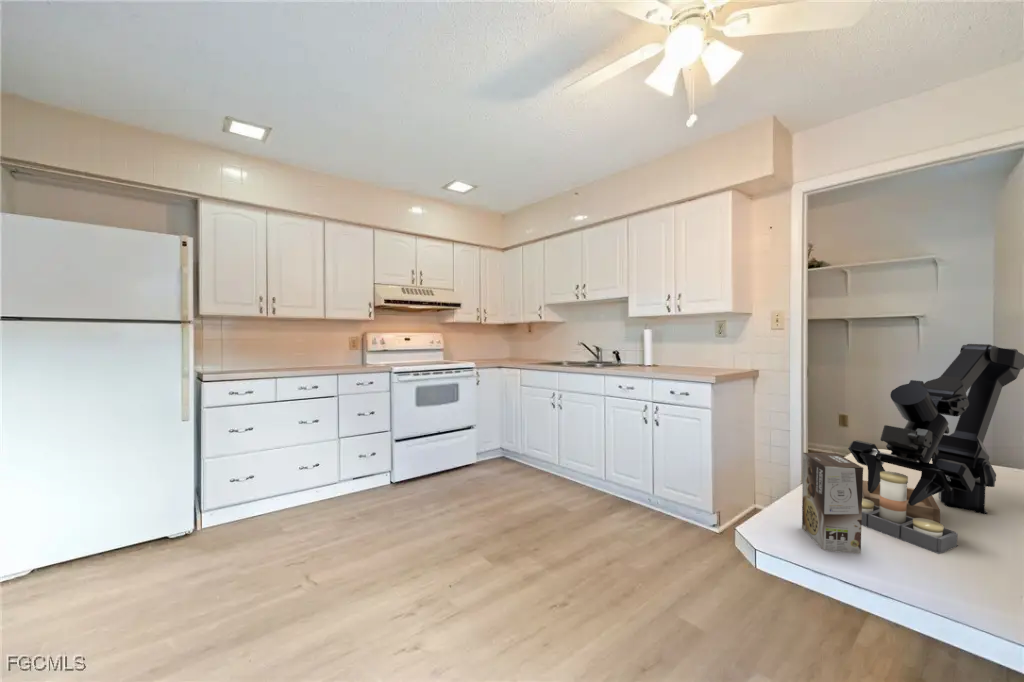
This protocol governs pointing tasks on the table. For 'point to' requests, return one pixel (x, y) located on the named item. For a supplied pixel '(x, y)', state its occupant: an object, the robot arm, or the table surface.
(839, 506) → the coffee box
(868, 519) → the grey compartment tray
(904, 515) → the cream capped cylinder
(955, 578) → the table surface
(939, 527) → the fuse
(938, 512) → the walnut tray
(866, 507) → the cream domed cylinder
